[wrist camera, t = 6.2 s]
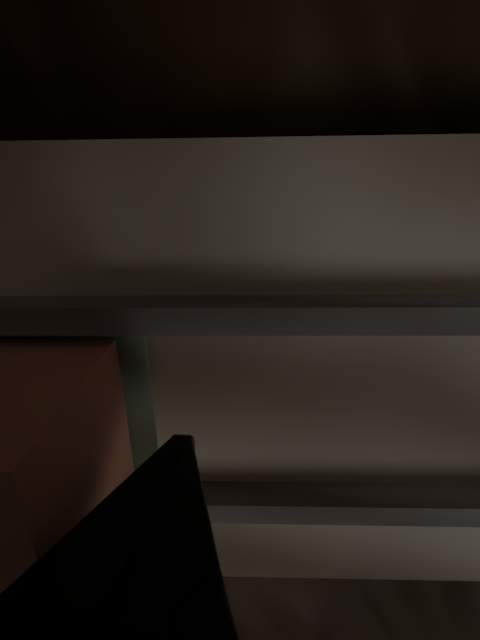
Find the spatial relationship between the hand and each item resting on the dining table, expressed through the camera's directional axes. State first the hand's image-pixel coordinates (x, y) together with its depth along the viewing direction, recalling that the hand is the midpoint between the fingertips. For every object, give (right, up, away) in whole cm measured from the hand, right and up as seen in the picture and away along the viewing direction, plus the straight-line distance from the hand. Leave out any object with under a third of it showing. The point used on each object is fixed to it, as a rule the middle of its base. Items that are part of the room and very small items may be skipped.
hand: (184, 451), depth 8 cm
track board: (+3, +1, +3) cm, 4 cm away
